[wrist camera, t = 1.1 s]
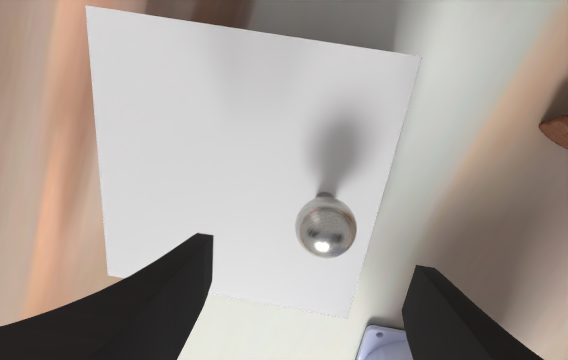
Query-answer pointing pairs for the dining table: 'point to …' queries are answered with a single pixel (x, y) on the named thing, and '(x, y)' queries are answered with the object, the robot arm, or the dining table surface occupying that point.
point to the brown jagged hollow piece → (556, 130)
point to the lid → (244, 152)
